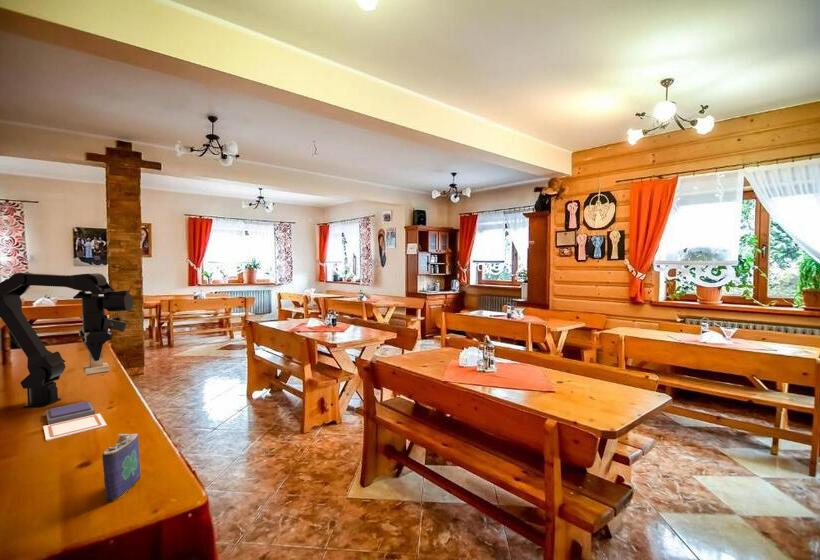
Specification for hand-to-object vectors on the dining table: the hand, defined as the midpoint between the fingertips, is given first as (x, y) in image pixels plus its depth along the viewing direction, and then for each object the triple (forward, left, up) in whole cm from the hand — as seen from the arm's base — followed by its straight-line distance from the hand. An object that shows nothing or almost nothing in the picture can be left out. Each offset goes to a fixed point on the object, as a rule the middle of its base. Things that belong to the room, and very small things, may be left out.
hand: (96, 359), depth 125 cm
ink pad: (+2, -13, -13) cm, 19 cm away
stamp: (0, 0, -4) cm, 4 cm away
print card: (+10, -22, -13) cm, 28 cm away
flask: (+44, -54, -13) cm, 71 cm away
